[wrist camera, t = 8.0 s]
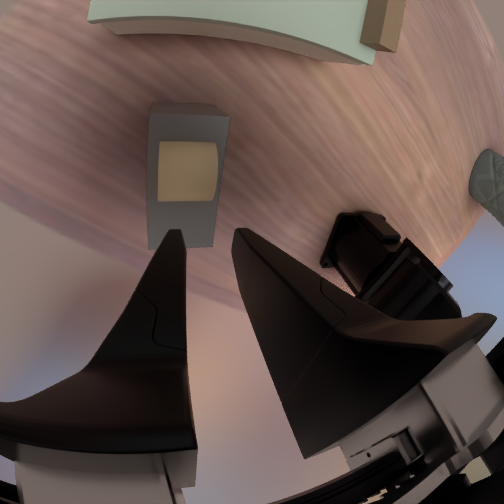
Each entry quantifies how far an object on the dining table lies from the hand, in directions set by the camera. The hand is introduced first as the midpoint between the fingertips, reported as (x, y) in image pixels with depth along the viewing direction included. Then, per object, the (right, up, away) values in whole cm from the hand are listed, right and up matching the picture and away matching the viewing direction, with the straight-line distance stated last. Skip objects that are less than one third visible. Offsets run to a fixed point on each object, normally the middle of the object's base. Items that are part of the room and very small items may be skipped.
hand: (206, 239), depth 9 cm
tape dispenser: (-4, +6, +9) cm, 11 cm away
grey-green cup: (+37, +12, +20) cm, 44 cm away
